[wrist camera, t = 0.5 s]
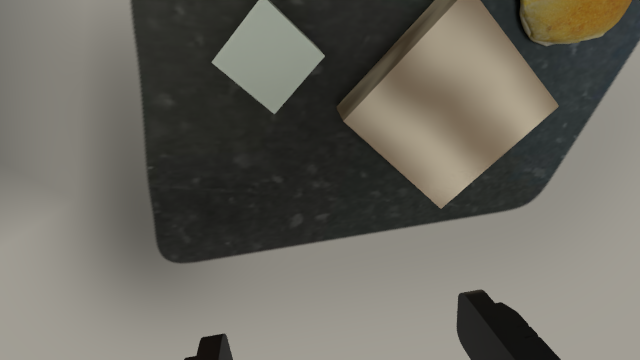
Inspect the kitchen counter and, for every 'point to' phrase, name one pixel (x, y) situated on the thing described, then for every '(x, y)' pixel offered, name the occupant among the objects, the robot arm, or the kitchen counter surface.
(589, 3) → the bread roll
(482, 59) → the birch plinth
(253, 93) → the sage block
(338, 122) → the kitchen counter surface
